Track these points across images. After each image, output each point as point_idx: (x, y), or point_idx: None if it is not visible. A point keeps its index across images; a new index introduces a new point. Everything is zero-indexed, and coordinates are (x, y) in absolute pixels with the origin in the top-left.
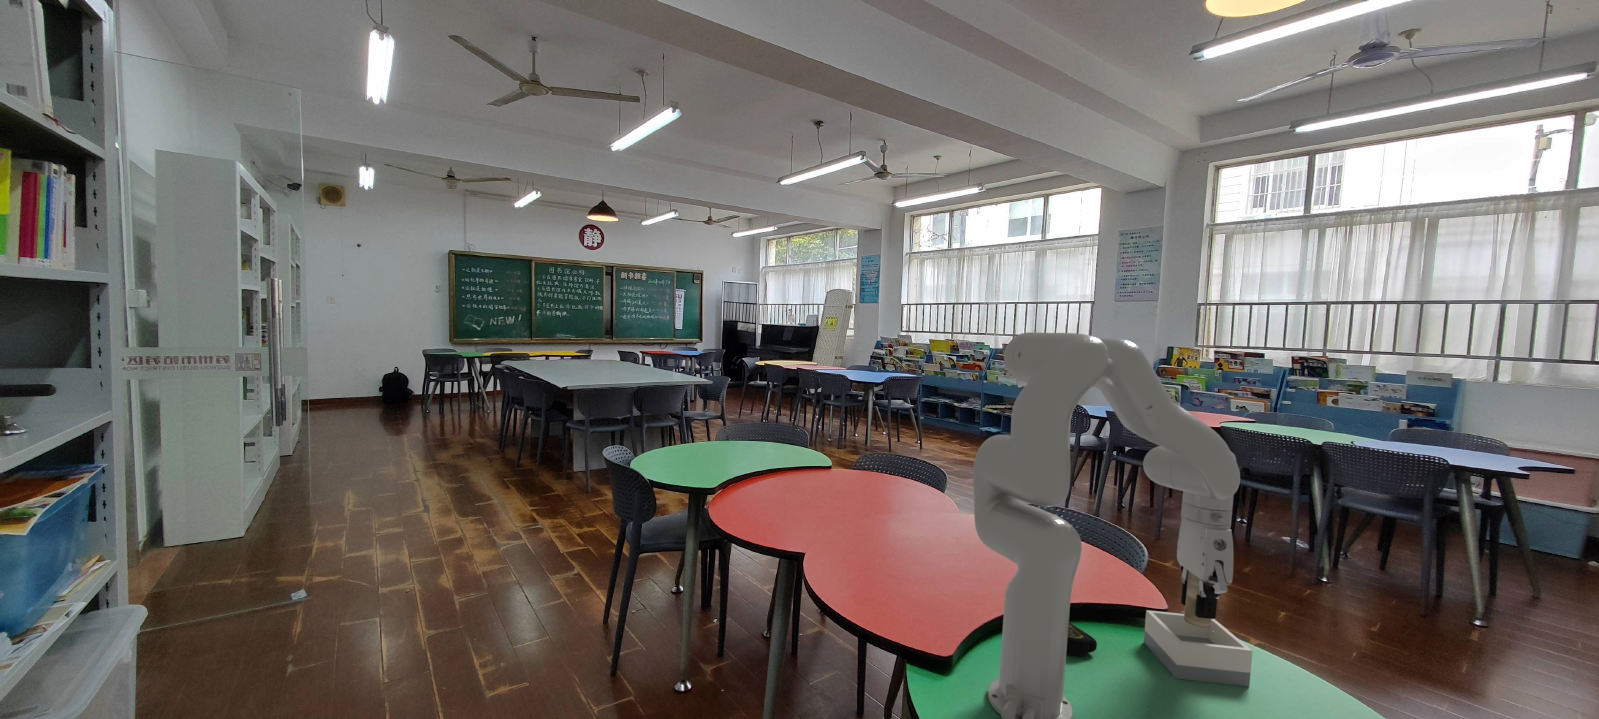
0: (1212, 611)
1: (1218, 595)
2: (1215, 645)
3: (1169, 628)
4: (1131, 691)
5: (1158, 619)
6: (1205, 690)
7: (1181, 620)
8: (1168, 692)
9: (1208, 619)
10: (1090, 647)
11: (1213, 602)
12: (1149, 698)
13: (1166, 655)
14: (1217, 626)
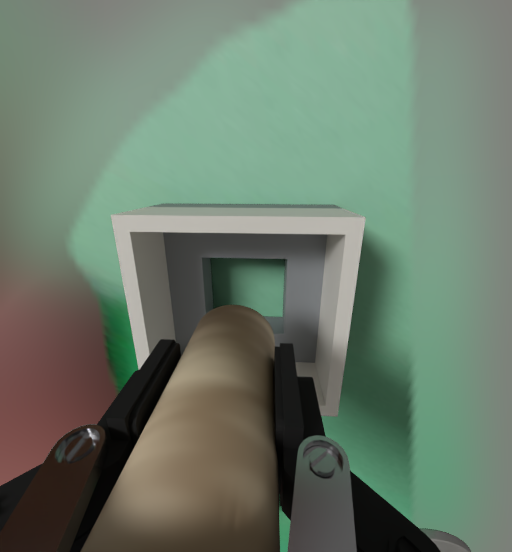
0: (314, 391)
1: (388, 506)
2: (341, 326)
3: (166, 327)
4: (370, 439)
5: None
6: (357, 316)
7: (152, 314)
8: (369, 386)
9: (270, 344)
10: None
11: (323, 433)
12: (389, 423)
13: None
14: (181, 230)
